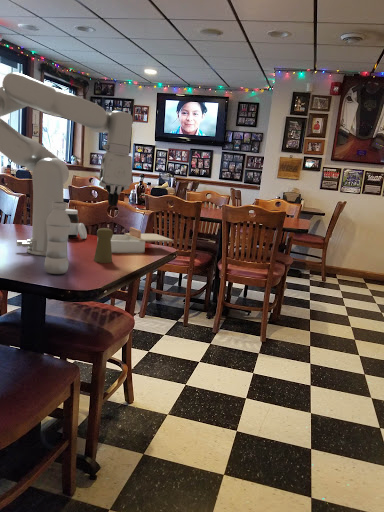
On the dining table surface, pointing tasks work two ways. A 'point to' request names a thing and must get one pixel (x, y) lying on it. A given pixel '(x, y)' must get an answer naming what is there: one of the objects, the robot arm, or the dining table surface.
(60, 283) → the dining table surface
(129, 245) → the mailer box
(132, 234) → the lid
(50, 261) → the plastic bottle
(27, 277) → the dining table surface
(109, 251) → the olive pepper mill
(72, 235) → the spread jar
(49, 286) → the dining table surface
